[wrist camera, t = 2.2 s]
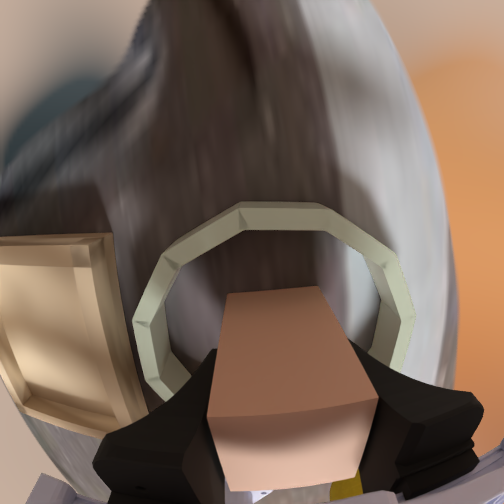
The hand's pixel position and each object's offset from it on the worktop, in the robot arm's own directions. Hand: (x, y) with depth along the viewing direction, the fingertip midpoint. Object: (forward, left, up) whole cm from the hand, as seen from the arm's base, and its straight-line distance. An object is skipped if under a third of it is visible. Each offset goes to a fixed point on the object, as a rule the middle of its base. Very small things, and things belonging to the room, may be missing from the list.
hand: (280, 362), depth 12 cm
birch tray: (-8, +11, -3) cm, 14 cm away
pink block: (0, 0, -3) cm, 3 cm away
